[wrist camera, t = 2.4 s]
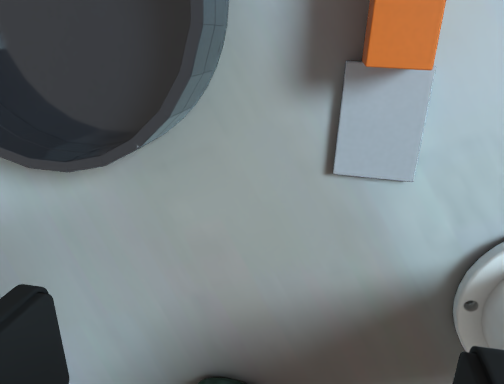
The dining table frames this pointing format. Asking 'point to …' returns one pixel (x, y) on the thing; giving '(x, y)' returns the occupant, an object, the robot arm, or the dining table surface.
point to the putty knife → (389, 91)
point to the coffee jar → (220, 381)
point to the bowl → (100, 75)
